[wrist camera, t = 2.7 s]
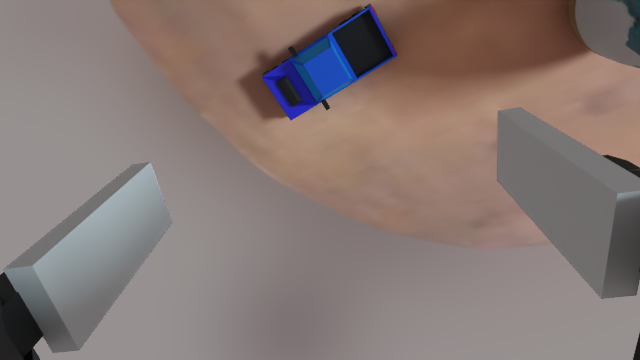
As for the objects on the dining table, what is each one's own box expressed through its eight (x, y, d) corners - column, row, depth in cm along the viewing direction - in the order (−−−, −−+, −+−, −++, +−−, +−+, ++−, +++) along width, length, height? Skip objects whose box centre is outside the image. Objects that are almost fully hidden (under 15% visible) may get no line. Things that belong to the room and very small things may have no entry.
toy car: (260, 65, 40) (251, 73, 36) (364, -5, 37) (369, -5, 33) (297, 120, 42) (292, 134, 38) (398, 58, 39) (406, 66, 35)
